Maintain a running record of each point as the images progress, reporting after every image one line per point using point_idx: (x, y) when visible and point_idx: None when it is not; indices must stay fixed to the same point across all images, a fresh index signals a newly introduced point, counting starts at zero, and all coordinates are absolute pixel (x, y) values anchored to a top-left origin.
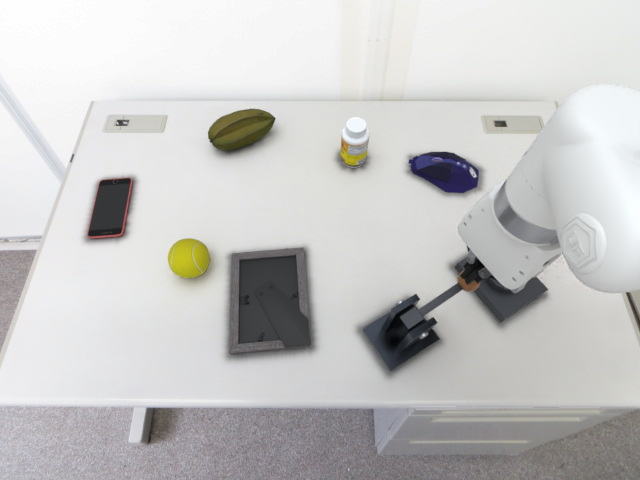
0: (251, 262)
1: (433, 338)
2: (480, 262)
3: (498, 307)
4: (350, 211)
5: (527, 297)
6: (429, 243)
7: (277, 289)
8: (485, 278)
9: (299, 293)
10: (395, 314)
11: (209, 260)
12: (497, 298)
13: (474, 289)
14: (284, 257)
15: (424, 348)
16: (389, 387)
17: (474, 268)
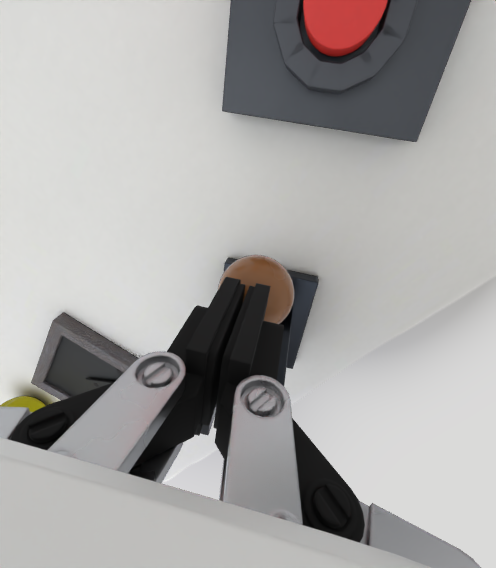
0: (53, 374)
1: (308, 290)
2: (200, 404)
3: (383, 129)
4: (12, 198)
5: (449, 10)
6: (147, 110)
7: (101, 382)
8: (283, 330)
9: (120, 369)
10: (208, 433)
11: (30, 408)
12: (367, 107)
13: (288, 313)
14: (60, 344)
15: (308, 313)
16: (308, 373)
17: (209, 419)
